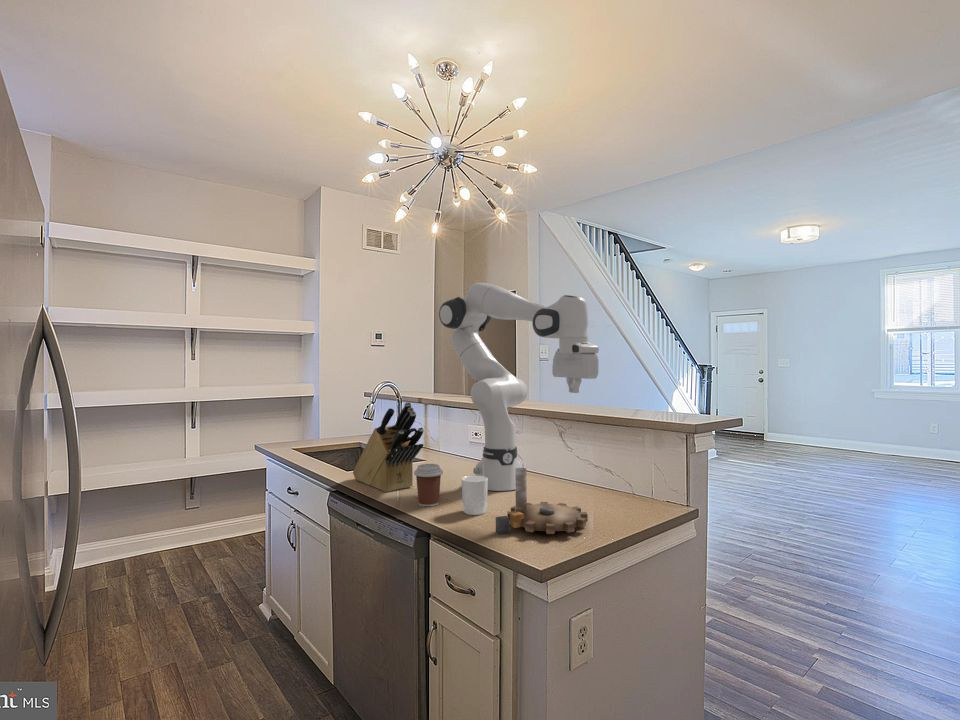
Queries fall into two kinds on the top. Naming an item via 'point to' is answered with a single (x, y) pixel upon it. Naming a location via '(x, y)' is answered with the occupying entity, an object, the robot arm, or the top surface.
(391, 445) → the knife block
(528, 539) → the top surface
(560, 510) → the sprocket
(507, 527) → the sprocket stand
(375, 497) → the top surface
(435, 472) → the coffee cup
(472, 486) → the white cup
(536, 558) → the top surface
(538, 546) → the top surface
